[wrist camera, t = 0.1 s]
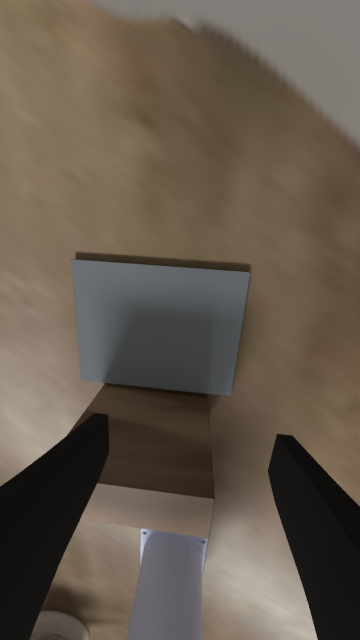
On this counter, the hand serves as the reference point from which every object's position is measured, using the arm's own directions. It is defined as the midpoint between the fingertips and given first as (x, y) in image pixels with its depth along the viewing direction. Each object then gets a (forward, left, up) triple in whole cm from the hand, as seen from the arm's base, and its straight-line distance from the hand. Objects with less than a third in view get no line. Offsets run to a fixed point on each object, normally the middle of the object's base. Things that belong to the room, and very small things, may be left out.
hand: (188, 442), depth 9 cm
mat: (+1, +3, -10) cm, 11 cm away
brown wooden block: (-6, +3, -10) cm, 12 cm away
